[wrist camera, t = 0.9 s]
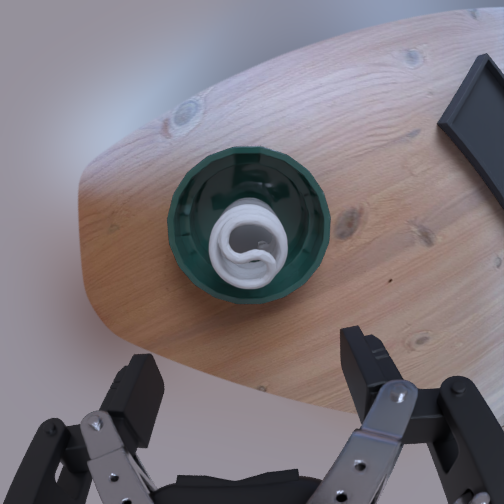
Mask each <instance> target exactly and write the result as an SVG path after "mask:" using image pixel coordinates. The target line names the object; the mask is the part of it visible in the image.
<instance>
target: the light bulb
mask: <svg viewBox="0 0 504 504" xmlns="http://www.w3.org/2000/svg"><path fill="white" fill-rule="evenodd" d="M270 253H271V254H270ZM287 253H288V245H287V236H286V233H285V231H284V228H283V226H282V224H281V222H280V220H279V219H278V216H277V215H276V214H275V212H274V211H273V210H272V209H271V207H270V206H269V205H268V204H266V203H265V202H263V201H261V200H259V199H256V198H242V199H238V200H237V201H235V202H233V203H232V204H231V205H229V206H228V207H227V208H226V209H225V210H224V212H223V213H222V214H221V216H220V218H219V219H218V221H217V222H216V223H215V225H214V227H213V229H212V232H211V235H210V241H209V257H210V260H211V263H212V266H213V268H214V269H215V271H216V272H217V274H218V275H219V276H220V277H221V278H222V279H223V280H224V281H226V282H227V283H229V284H231V285H233V286H235V287H238V288H242V289H257V288H261V287H264V286H265V285H267V284H269V283H270V282H271V281H272V279H273V278H274V277H275V275H276V274H277V273H278V272H279V271H280V270H281V268H282V267H283V265H284V264H285V261H286V258H287ZM253 260H261V261H259V262H250V261H253Z"/></svg>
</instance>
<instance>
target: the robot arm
mask: <svg viewBox="0 0 504 504" xmlns="http://www.w3.org/2000/svg"><path fill="white" fill-rule="evenodd" d="M340 358H341V366H342V370H343V373H344V376H345V379H346V382H347V384H348V387H349V390H350V393H351V396H352V398H353V401H354V404H355V407H356V410H357V413H358V416H359V418H360V421H361V424H362V426H361V427H360V429H355V430H354V432H353V433H352V435H351V436H350V438H349V439H348V441H347V443H346V444H345V446H344V448H343V450H342V451H341V453H340V454H339V456H338V457H337V459H336V461H335V462H334V464H333V465H332V467H331V468H330V470H329V471H328V473H327V474H326V476H325V477H324V479H323V480H320V479H316V478H312V477H306V476H299V472H298V469H292V470H284V471H276V472H267V473H263V474H260V475H257V476H253V477H250V478H246V479H243V480H238V481H231V480H225V479H220V478H215V477H209V476H192V475H177V481H176V483H173V484H169V485H166V486H164V487H161V488H159V489H158V488H157V487H156V486H155V484H154V483H153V481H152V479H151V478H150V476H149V475H148V473H147V471H146V470H145V468H144V466H143V464H142V463H141V461H140V459H139V457H138V456H137V454H136V450H137V448H147V447H148V444H149V441H150V437H151V434H152V430H153V427H154V424H155V420H156V417H157V413H158V410H159V407H160V404H161V400H162V397H163V394H164V382H163V379H162V376H161V374H160V372H159V369H158V367H157V365H156V362H155V360H154V358H153V356H152V355H151V354H135V355H133V357H132V359H131V361H130V363H129V365H128V366H124V368H122V369H121V370H120V371H119V372H118V373H117V375H116V377H115V379H114V383H112V385H111V387H110V389H109V391H108V393H107V395H106V397H105V399H104V401H103V403H102V405H101V407H100V409H99V411H94V412H91V413H89V414H88V415H86V416H85V417H84V418H83V420H82V421H81V424H79V425H73V426H66V425H65V424H64V423H63V422H62V420H60V419H58V418H51V419H48V420H46V421H45V422H43V423H42V424H41V425H40V427H39V428H38V430H37V432H36V434H35V436H34V438H33V440H32V442H31V444H30V446H29V448H28V450H27V452H26V454H25V456H24V458H23V460H22V462H21V464H20V466H19V469H18V471H17V473H16V475H15V477H14V480H13V482H12V484H11V486H10V488H9V491H8V493H7V495H6V498H5V500H4V503H3V504H85V503H86V499H87V495H88V492H89V489H90V485H91V482H92V479H93V481H94V483H95V486H96V488H97V491H98V493H99V496H100V498H101V500H102V502H103V504H377V501H378V500H379V498H380V496H381V494H382V492H383V490H384V488H385V486H386V483H387V481H388V479H389V477H390V475H391V473H392V470H393V468H394V466H395V464H396V461H397V459H398V457H399V455H400V452H401V450H402V448H403V445H404V444H417V443H427V446H428V448H429V451H430V453H431V456H432V459H433V461H434V464H435V467H436V469H437V472H438V475H439V478H440V480H441V483H442V486H443V489H444V492H445V495H446V498H447V501H448V504H504V431H503V430H502V428H501V426H500V424H499V423H498V421H497V419H496V418H495V416H494V414H493V413H492V411H491V409H490V408H489V406H488V405H487V403H486V401H485V400H484V398H483V397H482V395H481V394H480V392H479V390H478V389H477V387H476V386H475V384H474V383H473V382H472V381H471V380H470V379H468V378H466V377H463V376H453V377H449V378H447V379H446V380H445V381H443V383H442V384H441V387H440V388H435V389H418V388H417V387H416V386H415V385H414V384H413V383H411V382H410V381H407V380H404V379H403V378H402V376H401V374H400V372H399V371H398V369H397V367H396V365H395V364H394V362H393V360H392V359H391V357H390V356H389V353H388V352H387V350H386V349H385V347H384V345H383V343H382V342H381V340H380V339H378V338H377V337H375V336H374V335H372V334H371V335H367V336H364V335H363V333H362V331H361V329H360V327H359V326H358V325H357V326H352V327H347V328H342V329H340ZM60 462H61V463H62V464H63V465H64V466H63V468H62V471H61V473H60V476H59V479H58V481H57V483H56V481H55V473H56V470H57V467H58V465H59V463H60Z"/></svg>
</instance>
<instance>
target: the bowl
mask: <svg viewBox="0 0 504 504" xmlns="http://www.w3.org/2000/svg"><path fill="white" fill-rule="evenodd" d="M242 198H256V199H259V200H261V201H263V202H265V203H266V204H268V205H269V206H270V207H271V209H272V210H273V211H274V212H275V214H276V215H277V216H278V219H279V220H280V222H281V224H282V226H283V228H284V231H285V233H286V236H287V245H288V253H287V258H286V261H285V264H284V265H283V267H282V268H281V270H280V271H279V272H278V273H277V274H276V275H275V277H274V278H273V279H272V281H271V282H270V283H269V284H267V285H265V286H264V287H261V288H257V289H242V288H238V287H235V286H233V285H231V284H229V283H227V282H226V281H224V280H223V279H222V278H221V277H220V276H219V275H218V274H217V272H216V271H215V269H214V268H213V266H212V263H211V260H210V257H209V241H210V235H211V232H212V229H213V227H214V225H215V223H216V222H217V221H218V219H219V218H220V216H221V214H222V213H223V212H224V210H225V209H226V208H227V207H228V206H229V205H231V204H232V203H233V202H235V201H237V200H238V199H242ZM330 221H331V217H330V213H329V209H328V205H327V202H326V198H325V195H324V193H323V190H322V189H321V187H320V186H319V185H318V183H317V182H316V180H315V179H314V177H313V176H312V174H311V173H310V171H308V170H307V169H306V168H305V167H303V166H302V165H301V164H299V163H298V162H297V161H295V160H294V159H293V158H291V157H290V156H289V155H287V154H284V153H281V152H278V151H275V150H272V149H268V148H265V147H261V146H242V147H232V148H229V149H226V150H223V151H220V152H217V153H215V154H212V155H209V156H207V157H206V158H205V159H203V160H202V161H201V162H200V163H198V164H197V165H196V166H195V167H193V168H192V169H191V170H190V171H188V173H187V174H186V175H185V177H184V178H183V180H182V181H181V183H180V184H179V186H178V188H177V189H176V191H175V192H174V195H173V197H172V201H171V205H170V209H169V213H168V217H167V225H168V237H169V245H170V247H171V249H172V252H173V254H174V256H175V259H176V261H177V264H178V266H179V267H180V268H181V270H182V271H183V272H184V273H185V274H186V275H187V277H188V278H189V279H190V280H191V281H192V282H193V284H195V285H196V286H197V287H199V288H201V289H202V290H204V291H205V292H207V293H208V294H210V295H212V296H213V297H215V298H218V299H221V300H225V301H228V302H232V303H236V304H263V303H266V302H270V301H273V300H276V299H279V298H283V297H285V296H287V295H288V294H290V293H291V292H293V291H294V290H296V289H297V288H299V287H300V286H302V285H303V284H305V283H306V282H307V281H308V279H309V278H310V277H311V276H312V274H313V273H314V272H315V271H316V270H317V268H318V267H319V266H320V264H321V262H322V259H323V257H324V254H325V252H326V249H327V247H328V244H329V239H330ZM270 254H271V253H270ZM259 261H261V260H253V261H250V262H259Z"/></svg>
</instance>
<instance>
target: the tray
mask: <svg viewBox="0 0 504 504" xmlns="http://www.w3.org/2000/svg"><path fill="white" fill-rule="evenodd" d="M437 124H438V125H439V126H440V127H441V128H442V129H443V130H444V132H445V133H446V134H447V135H448V136H449V137H450V138H451V140H452V141H453V142H454V143H455V144H456V145H457V147H458V148H459V149H460V150H461V152H462V153H463V154H464V155H465V156H466V158H467V159H468V160H469V162H470V163H471V164H472V165H473V167H474V168H475V169H476V171H477V172H478V173H479V175H480V176H481V177H482V179H483V180H484V181H485V183H486V184H487V186H488V187H489V188H490V190H491V191H492V193H493V194H494V196H495V197H496V199H497V200H498V202H499V203H500V205H501V206H502V208H503V209H504V74H503V73H502V72H501V70H500V69H499V68H498V66H497V65H496V64H495V63H494V61H493V60H492V59H491V58H490V57H489V55H488V54H487V53H486V54H482V55H479V56H478V57H477V58H476V60H475V62H474V64H473V65H472V67H471V69H470V71H469V72H468V74H467V76H466V77H465V79H464V81H463V83H462V84H461V86H460V88H459V89H458V91H457V93H456V94H455V96H454V97H453V99H452V101H451V102H450V104H449V106H448V107H447V109H446V110H445V112H444V113H443V115H442V117H441V118H440V120H439V121H438V123H437Z"/></svg>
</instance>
